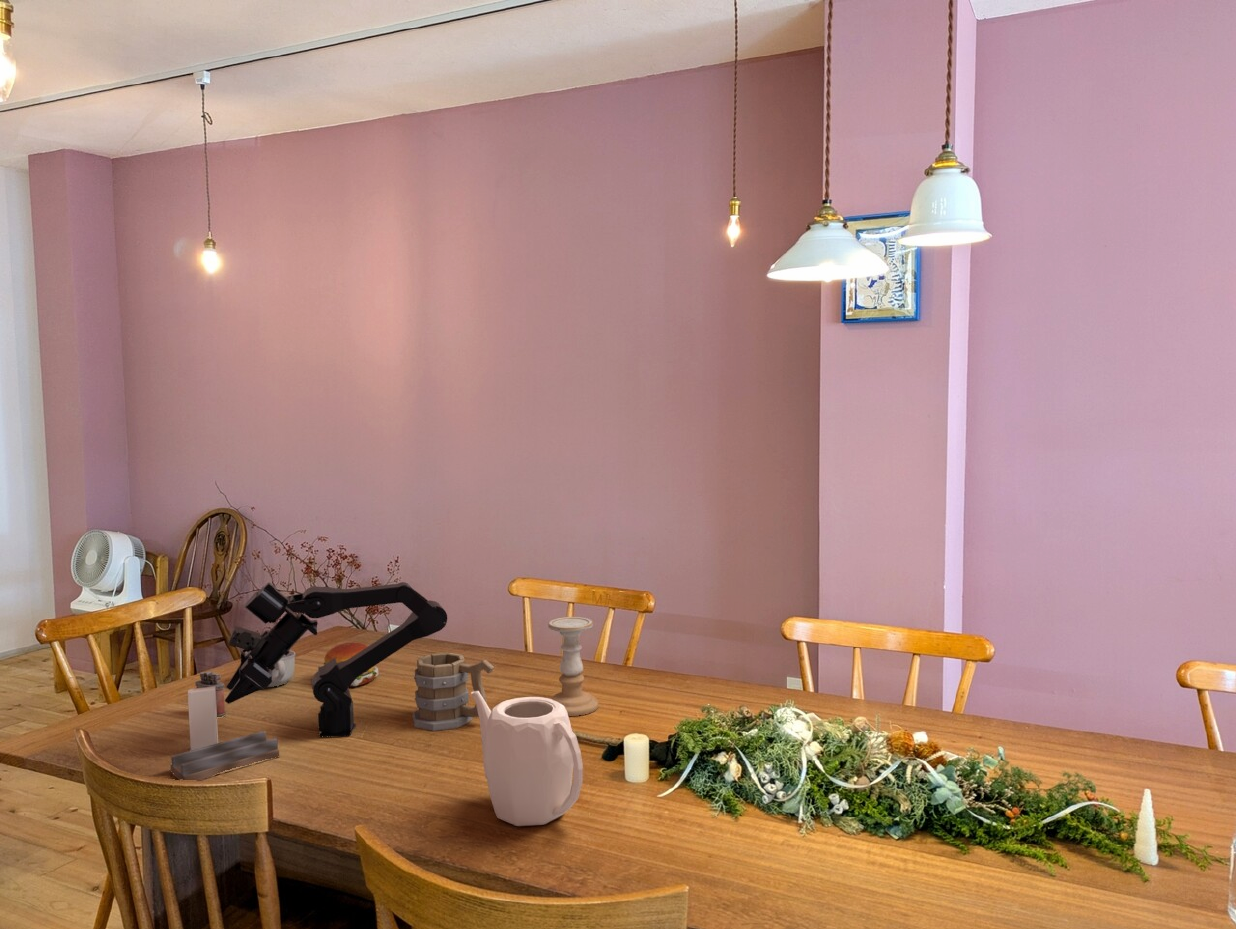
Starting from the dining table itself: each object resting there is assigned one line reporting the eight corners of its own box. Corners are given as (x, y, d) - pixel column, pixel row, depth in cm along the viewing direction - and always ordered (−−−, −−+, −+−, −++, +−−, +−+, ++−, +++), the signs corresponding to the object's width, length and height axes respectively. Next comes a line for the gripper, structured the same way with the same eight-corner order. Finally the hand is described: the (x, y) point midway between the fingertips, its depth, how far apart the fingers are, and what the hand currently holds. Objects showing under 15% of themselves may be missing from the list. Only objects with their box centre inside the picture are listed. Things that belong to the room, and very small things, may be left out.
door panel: (218, 747, 185) (215, 686, 184) (217, 751, 183) (214, 689, 182) (191, 751, 183) (188, 689, 182) (191, 755, 181) (187, 693, 180)
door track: (263, 746, 185) (262, 730, 185) (279, 757, 179) (278, 740, 179) (171, 772, 173) (170, 754, 172) (185, 784, 167) (184, 766, 167)
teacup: (250, 681, 229) (248, 650, 228) (294, 675, 233) (293, 645, 233) (252, 697, 216) (251, 665, 216) (299, 690, 221) (298, 659, 220)
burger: (320, 678, 230) (319, 640, 230) (374, 671, 236) (372, 634, 235) (327, 693, 218) (325, 654, 217) (383, 685, 224) (382, 646, 223)
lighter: (193, 714, 205) (191, 672, 204) (206, 709, 208) (204, 668, 207) (216, 720, 201) (214, 676, 200) (229, 715, 204) (227, 672, 203)
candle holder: (575, 720, 197) (573, 631, 196) (534, 709, 205) (532, 623, 203) (609, 705, 207) (608, 620, 206) (569, 695, 214) (567, 613, 213)
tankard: (401, 725, 196) (399, 658, 195) (438, 707, 207) (436, 644, 206) (474, 740, 187) (472, 670, 186) (509, 720, 198) (507, 654, 197)
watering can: (505, 775, 169) (503, 678, 168) (612, 816, 152) (610, 708, 151) (441, 805, 157) (438, 700, 156) (549, 852, 140) (546, 736, 139)
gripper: (252, 603, 193) (198, 659, 190) (251, 623, 176) (192, 685, 173) (292, 635, 197) (240, 690, 193) (295, 657, 179) (238, 718, 176)
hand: (227, 695), depth 184 cm, fingers open, 9 cm apart
